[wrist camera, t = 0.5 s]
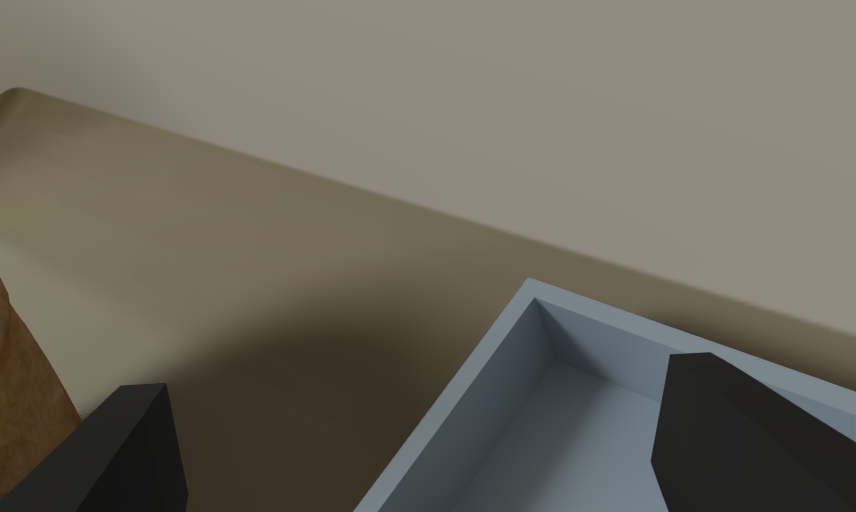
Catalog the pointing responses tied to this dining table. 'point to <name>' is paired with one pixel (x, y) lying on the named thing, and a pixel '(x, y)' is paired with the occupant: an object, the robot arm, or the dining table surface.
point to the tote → (564, 413)
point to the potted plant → (27, 401)
